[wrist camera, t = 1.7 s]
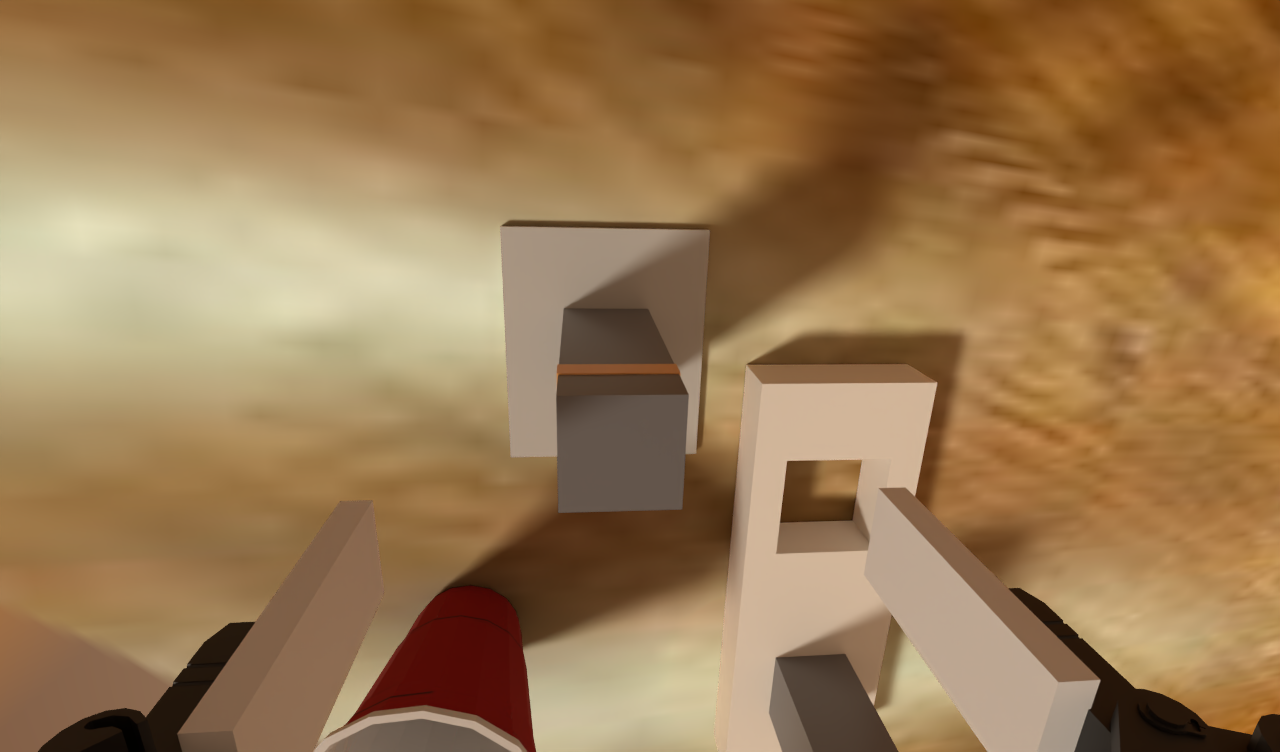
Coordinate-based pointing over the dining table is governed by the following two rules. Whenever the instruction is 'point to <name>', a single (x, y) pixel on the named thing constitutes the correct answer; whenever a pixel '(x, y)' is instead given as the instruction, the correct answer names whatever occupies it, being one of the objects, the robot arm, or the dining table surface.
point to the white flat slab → (595, 279)
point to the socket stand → (812, 558)
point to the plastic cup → (448, 684)
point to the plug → (618, 414)
